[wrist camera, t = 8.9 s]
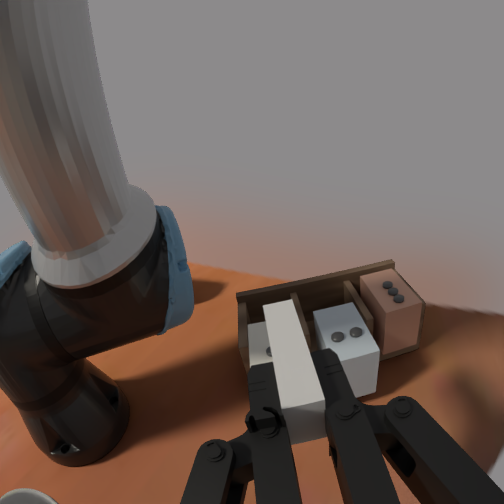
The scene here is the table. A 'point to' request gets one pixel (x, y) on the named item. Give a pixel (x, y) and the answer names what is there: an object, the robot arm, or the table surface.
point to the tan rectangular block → (391, 310)
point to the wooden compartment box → (313, 304)
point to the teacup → (26, 497)
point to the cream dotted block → (259, 344)
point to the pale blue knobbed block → (349, 345)
